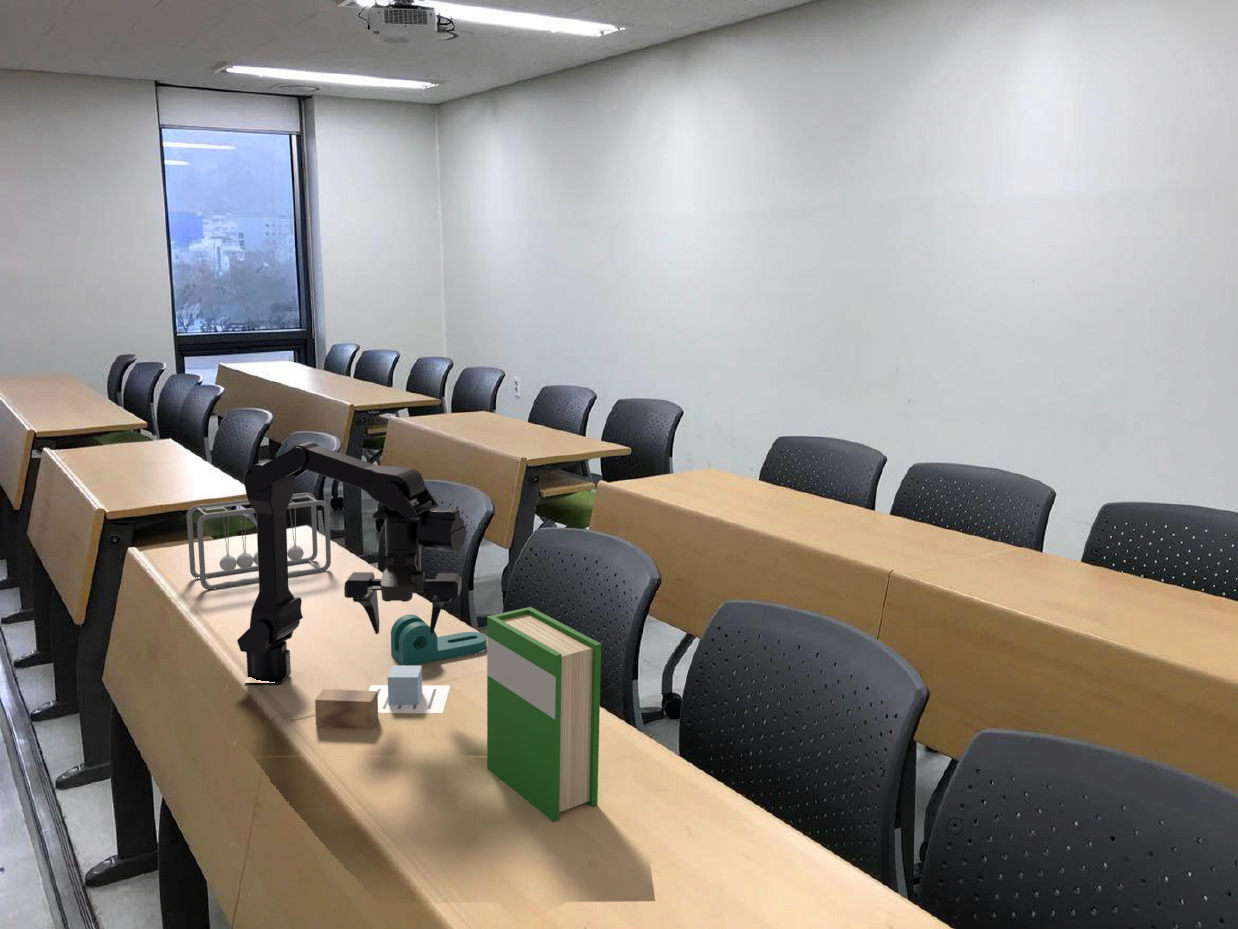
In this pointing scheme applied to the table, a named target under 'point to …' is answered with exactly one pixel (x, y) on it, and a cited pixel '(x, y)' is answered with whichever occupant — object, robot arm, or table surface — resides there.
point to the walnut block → (346, 709)
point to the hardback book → (543, 710)
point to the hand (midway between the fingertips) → (404, 633)
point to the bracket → (430, 642)
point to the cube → (404, 685)
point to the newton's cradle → (245, 558)
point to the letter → (428, 703)
